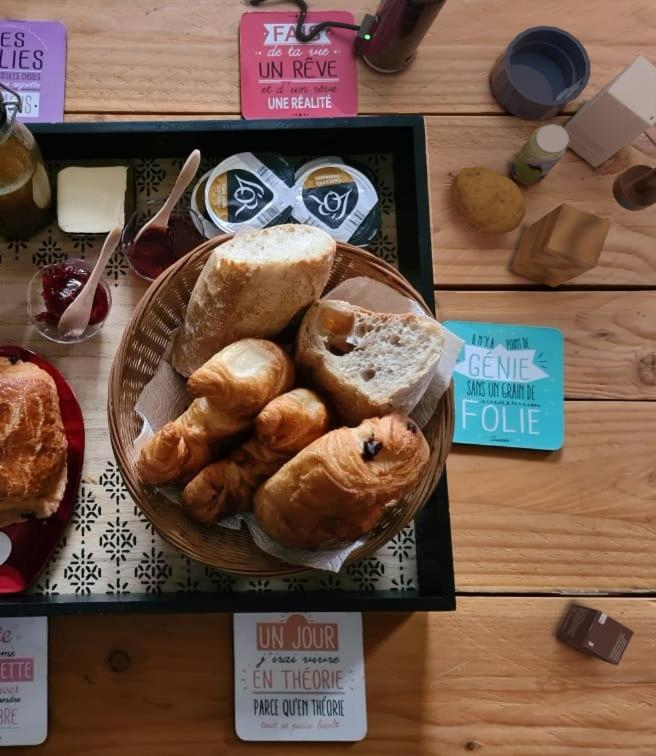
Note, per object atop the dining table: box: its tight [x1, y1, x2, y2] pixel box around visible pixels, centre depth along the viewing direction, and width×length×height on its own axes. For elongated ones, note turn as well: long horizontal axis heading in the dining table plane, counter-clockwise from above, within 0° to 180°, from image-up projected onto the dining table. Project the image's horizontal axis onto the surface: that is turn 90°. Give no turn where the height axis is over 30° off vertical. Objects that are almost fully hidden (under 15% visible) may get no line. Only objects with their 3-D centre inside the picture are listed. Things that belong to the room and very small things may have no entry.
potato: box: [450, 165, 527, 235], centre depth 123 cm, size 10×13×9 cm
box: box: [556, 603, 635, 666], centre depth 114 cm, size 6×6×7 cm
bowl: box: [490, 25, 591, 121], centre depth 128 cm, size 15×15×6 cm
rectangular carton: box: [563, 54, 656, 168], centre depth 122 cm, size 9×9×15 cm
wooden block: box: [509, 202, 612, 288], centre depth 120 cm, size 8×8×12 cm
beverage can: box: [510, 123, 570, 186], centre depth 123 cm, size 6×7×12 cm
